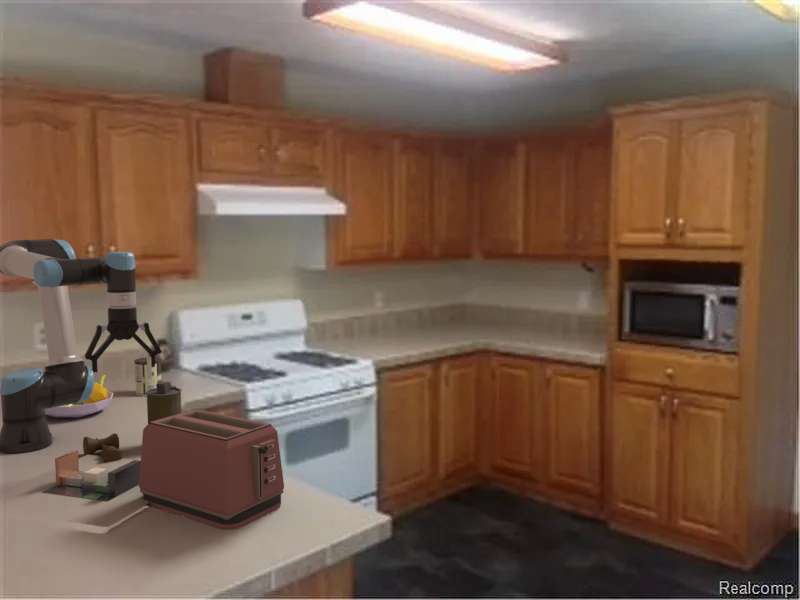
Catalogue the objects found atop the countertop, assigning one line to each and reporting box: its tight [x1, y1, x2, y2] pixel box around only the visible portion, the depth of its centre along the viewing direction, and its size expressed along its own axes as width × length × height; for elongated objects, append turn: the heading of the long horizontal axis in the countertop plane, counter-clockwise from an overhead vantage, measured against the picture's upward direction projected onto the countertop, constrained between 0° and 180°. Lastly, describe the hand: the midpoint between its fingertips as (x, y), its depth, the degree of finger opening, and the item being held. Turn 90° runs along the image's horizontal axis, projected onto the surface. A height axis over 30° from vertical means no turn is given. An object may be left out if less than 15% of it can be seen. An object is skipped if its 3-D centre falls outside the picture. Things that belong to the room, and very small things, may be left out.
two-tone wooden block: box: [54, 450, 85, 487], centre depth 184 cm, size 6×7×7 cm
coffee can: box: [134, 356, 163, 397], centre depth 287 cm, size 10×10×14 cm
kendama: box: [82, 433, 123, 463], centre depth 209 cm, size 6×10×20 cm
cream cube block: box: [83, 466, 109, 484], centre depth 182 cm, size 4×4×4 cm
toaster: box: [138, 408, 285, 531], centre depth 172 cm, size 19×34×20 cm, turn 58°
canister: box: [146, 381, 183, 425], centre depth 219 cm, size 11×10×20 cm
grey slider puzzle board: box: [41, 459, 141, 503], centre depth 182 cm, size 20×16×7 cm
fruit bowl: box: [45, 374, 114, 419], centre depth 258 cm, size 28×27×11 cm
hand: (124, 380), depth 201 cm, fingers open, 13 cm apart
